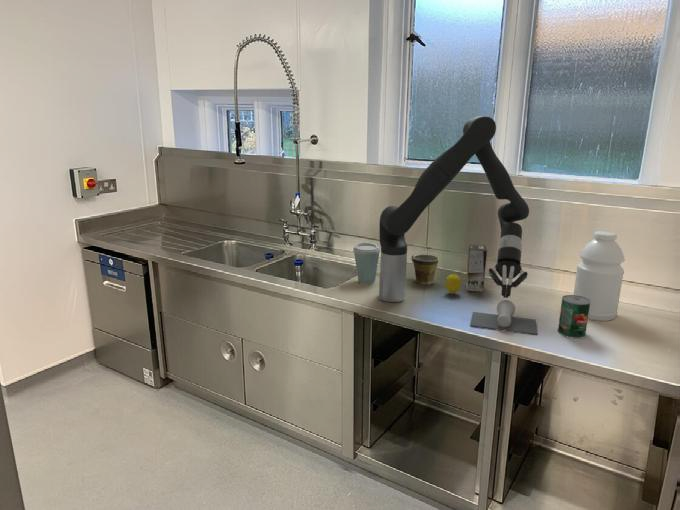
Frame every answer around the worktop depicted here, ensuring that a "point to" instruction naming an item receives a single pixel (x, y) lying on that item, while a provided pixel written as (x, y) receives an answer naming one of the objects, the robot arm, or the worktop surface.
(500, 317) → the salt shaker
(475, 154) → the robot arm
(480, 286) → the coffee box
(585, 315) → the canned tomato
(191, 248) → the worktop surface
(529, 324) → the mat
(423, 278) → the ceramic cup
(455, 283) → the lemon
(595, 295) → the bottle
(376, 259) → the disposable coffee cup
